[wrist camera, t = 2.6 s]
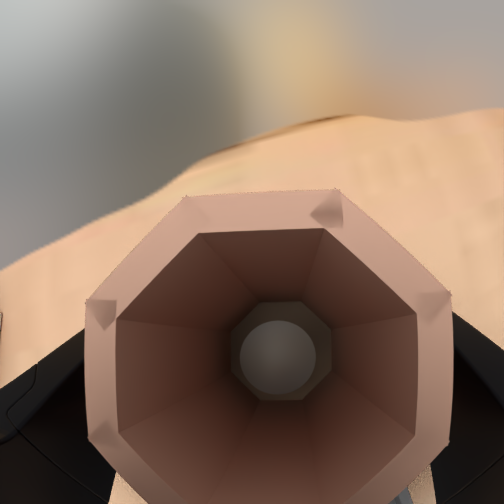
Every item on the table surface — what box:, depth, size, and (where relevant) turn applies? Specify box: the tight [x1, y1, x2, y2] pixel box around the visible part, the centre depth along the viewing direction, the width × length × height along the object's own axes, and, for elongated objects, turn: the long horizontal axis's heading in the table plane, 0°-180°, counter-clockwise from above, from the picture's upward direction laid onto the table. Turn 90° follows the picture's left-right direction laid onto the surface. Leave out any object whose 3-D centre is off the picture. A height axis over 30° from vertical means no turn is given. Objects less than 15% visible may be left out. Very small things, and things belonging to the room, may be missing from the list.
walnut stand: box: [231, 301, 331, 400], centre depth 12 cm, size 9×9×5 cm
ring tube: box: [84, 188, 453, 504], centre depth 9 cm, size 7×6×10 cm
